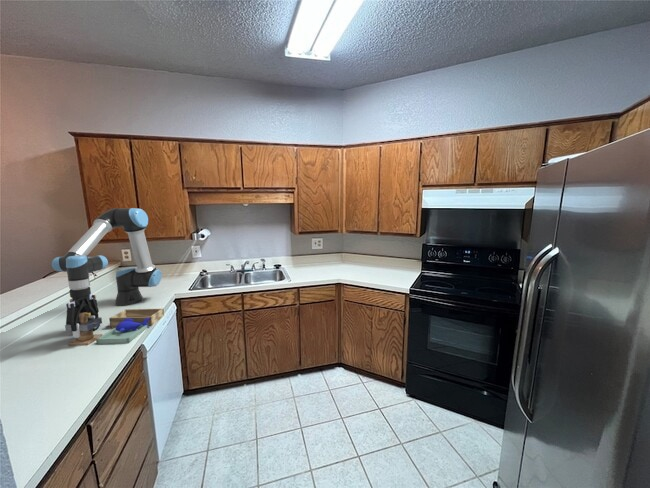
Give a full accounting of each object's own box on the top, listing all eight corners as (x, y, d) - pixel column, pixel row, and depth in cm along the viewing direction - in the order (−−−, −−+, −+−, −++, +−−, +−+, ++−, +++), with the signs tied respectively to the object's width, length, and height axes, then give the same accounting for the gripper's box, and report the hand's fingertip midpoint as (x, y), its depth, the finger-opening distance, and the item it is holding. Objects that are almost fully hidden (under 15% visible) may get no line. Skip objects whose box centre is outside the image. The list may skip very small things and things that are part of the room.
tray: (119, 329, 147) (119, 325, 147) (148, 328, 148) (148, 324, 148) (96, 344, 131) (96, 339, 131) (128, 343, 132) (128, 338, 132)
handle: (84, 336, 139) (81, 310, 137) (102, 336, 140) (99, 309, 138) (68, 345, 130) (65, 317, 129) (88, 344, 131) (84, 316, 129)
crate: (126, 319, 161) (125, 309, 160) (164, 318, 162) (163, 308, 161) (110, 328, 148) (109, 318, 147) (151, 327, 149) (150, 317, 148)
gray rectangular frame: (81, 323, 138) (80, 317, 138) (105, 322, 139) (104, 317, 138) (65, 331, 129) (64, 325, 129) (91, 330, 130) (90, 324, 130)
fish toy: (114, 335, 137) (113, 321, 138) (117, 332, 144) (116, 319, 145) (149, 329, 144) (148, 316, 145) (150, 326, 151) (150, 314, 151)
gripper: (89, 282, 142) (94, 323, 145) (50, 295, 121) (56, 343, 124) (104, 281, 143) (109, 323, 145) (68, 294, 121) (74, 342, 124)
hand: (85, 332), depth 134 cm, fingers closed on gray rectangular frame, 9 cm apart
